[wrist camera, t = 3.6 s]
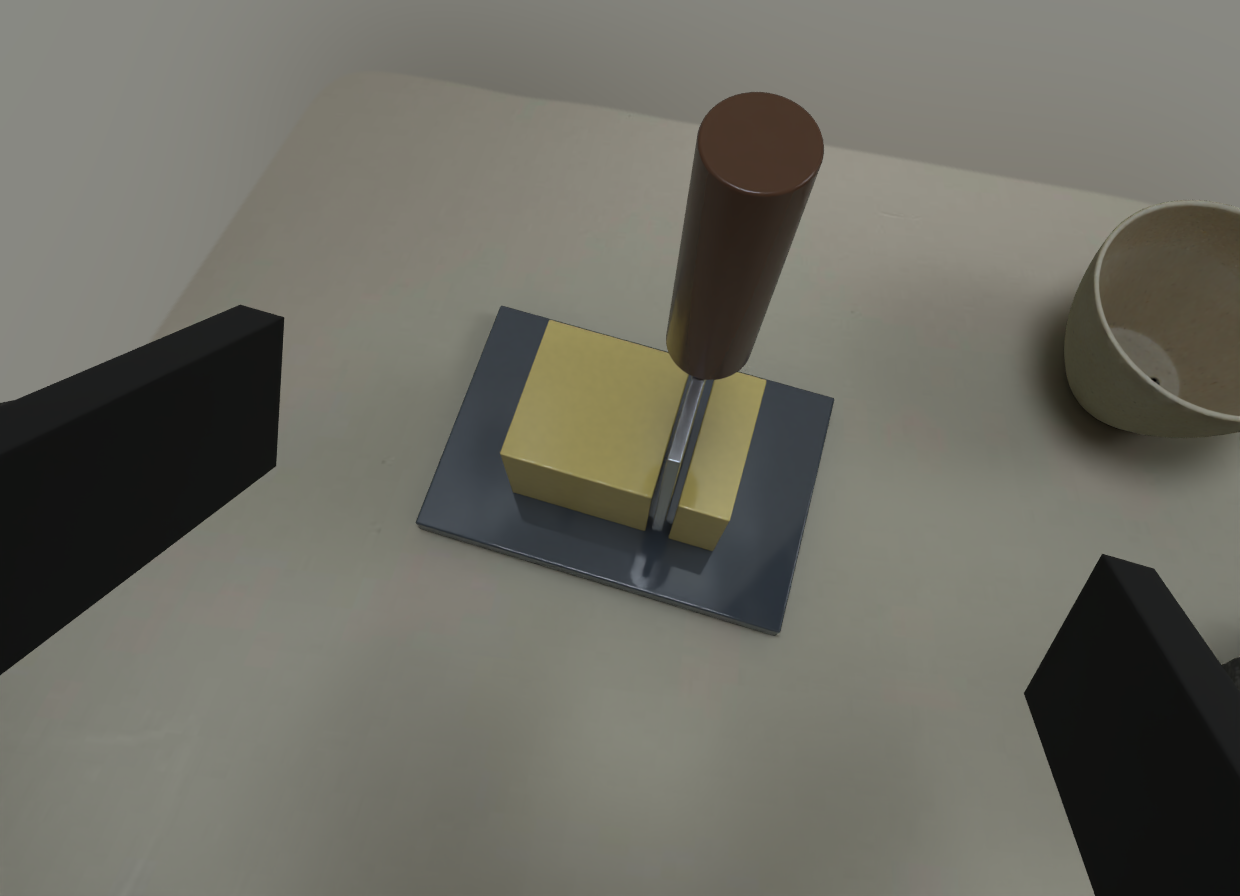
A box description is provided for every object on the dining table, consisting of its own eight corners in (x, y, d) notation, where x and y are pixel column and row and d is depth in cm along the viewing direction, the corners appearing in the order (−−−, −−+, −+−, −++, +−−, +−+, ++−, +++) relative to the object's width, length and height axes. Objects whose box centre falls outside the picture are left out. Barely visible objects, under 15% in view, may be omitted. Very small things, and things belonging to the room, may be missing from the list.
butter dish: (419, 528, 38) (387, 488, 32) (502, 314, 41) (487, 244, 36) (775, 636, 36) (807, 614, 31) (829, 406, 40) (866, 348, 34)
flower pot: (1250, 479, 39) (1385, 421, 33) (1033, 480, 39) (1123, 422, 32) (1198, 286, 43) (1311, 198, 36) (998, 286, 42) (1073, 197, 36)
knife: (623, 521, 32) (645, 289, 16) (679, 337, 35) (745, -16, 19) (690, 540, 32) (778, 326, 16) (741, 354, 35) (861, 12, 19)
